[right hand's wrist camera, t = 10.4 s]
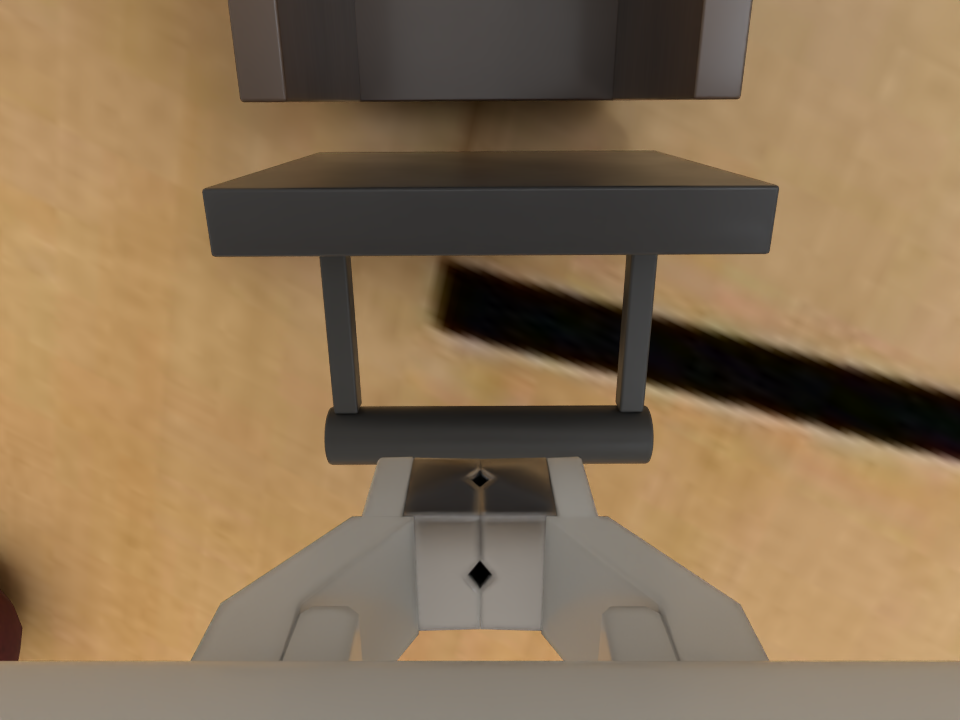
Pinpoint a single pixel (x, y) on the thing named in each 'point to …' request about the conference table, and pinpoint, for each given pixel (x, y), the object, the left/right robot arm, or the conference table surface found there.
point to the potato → (9, 630)
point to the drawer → (489, 183)
